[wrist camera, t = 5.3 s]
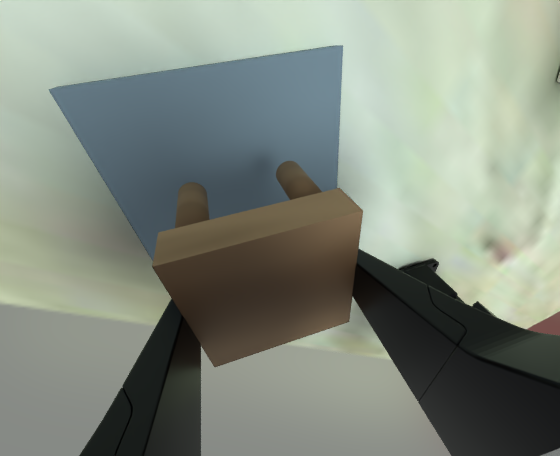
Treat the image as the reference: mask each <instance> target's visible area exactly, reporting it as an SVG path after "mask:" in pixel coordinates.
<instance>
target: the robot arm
mask: <svg viewBox="0 0 560 456" xmlns="http://www.w3.org/2000/svg"><path fill="white" fill-rule="evenodd" d="M438 265H439V262H438V261H436V260H431V261H428V262H424V263H421V264H418V265H415V266H412V267H409V268H406V269H402V270H398V269H396V268H394V267H392V266H391V265H389V264H387V263H385V262H383V261H381V260H379V259H377V258H375V257H374V256H372V255H370V254H368V253H366V252H364V251H362V250H360V249H358V255H357V263H356V267H355V276H354V284H353V292H352V296H353V297H354V299H355V301H356V302H357V304H358V306H359V307H360V309H361V310H362V312H363V314H364V315H365V317H366V318H367V320H368V322H369V323H370V325H371V327H372V328H373V330H374V331H375V333H376V335H377V336H378V338H379V339H380V341H381V343H382V344H383V346H384V348H385V349H386V351H387V352H388V354H389V356H390V357H391V359H392V360H393V362H394V364H395V365H396V367H397V368H398V370H399V372H400V373H401V375H402V377H403V378H404V380H405V381H406V383H407V385H408V386H409V388H410V389H411V391H412V392H413V394H414V396H415V397H416V399H417V401H419V404H420V406H421V407H422V409H423V411H424V412H425V414H426V415H427V417H428V419H429V420H430V422H431V424H432V425H433V427H434V428H435V430H436V432H437V433H438V435H439V437H440V438H441V440H442V441H443V443H444V445H445V446H446V448H447V449H448V451H449V452H450V454H451V456H560V336H558V335H551V334H543V333H538V332H533V331H529V330H526V329H523V328H520V327H518V326H515V325H513V324H510V323H508V322H506V321H503V320H501V319H499V318H497V317H496V316H495V315H494V314H493V313H491V312H490V311H489V310H488V309H487V308H485V307H484V306H483V305H482V304H480V303H479V302H478V301H477V302H476V303H474V304H473V306H469V305H467V304H465V303H464V302H463V301H462V300H461V299H460V298H459V297H458V296H457V293H456V292H455V291H454V290H453V289H452V288H451V287H450V286H449V285H448V284H447V283H446V282H445V281H444V280H443V279H441V278H440V277H439V276H438V275H437V274H436V273H435V272H436V269H437V267H438ZM79 456H201V344H200V342H199V340H198V339H197V337H196V336H195V334H194V332H193V331H192V329H191V328H190V326H189V324H188V323H187V321H186V319H185V318H184V317H183V316H182V314H181V312H180V311H179V309H178V307H177V306H176V304H175V303H174V301H173V299H171V301H170V302H169V304H168V306H167V308H166V309H165V311H164V313H163V315H162V317H161V318H160V320H159V322H158V324H157V325H156V327H155V329H154V331H153V332H152V334H151V336H150V338H149V340H148V341H147V343H146V345H145V347H144V348H143V350H142V352H141V354H140V355H139V357H138V359H137V361H136V363H135V364H134V366H133V368H132V370H131V371H130V373H129V375H128V377H127V379H126V380H125V382H124V384H123V388H121V389H120V391H119V392H118V394H117V396H116V398H115V399H114V401H113V403H112V405H111V406H110V408H109V410H108V411H107V413H106V415H105V417H104V418H103V420H102V421H101V423H100V425H99V426H98V428H97V429H96V431H95V433H94V434H93V436H92V437H91V439H90V440H89V442H88V443H87V445H86V446H85V448H84V449H83V451H82V452H81V454H80V455H79Z"/></svg>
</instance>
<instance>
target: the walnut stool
mask: <svg viewBox="0 0 560 456" xmlns="http://www.w3.org/2000/svg"><path fill="white" fill-rule="evenodd" d="M276 178H277V180H278V182H279V183H280V185H281V187H282V188H283V190H284V191H285V193H286V195H287V196H288V198H289V199H290V200H288V201H284V202H280V203H276V204H272V205H268V206H264V207H260V208H256V209H252V210H248V211H244V212H239V213H235V214H231V215H227V216H223V217H219V218H215V219H211V220H210V218H209V208H208V198H207V192H206V190H205V188H204V187H203V186H202V185H200V184H198V183H194V182H189V183H186V184H184V185H182V186H181V187H180V189H179V191H178V200H177V211H176V222H175V228H174V229H170V230H166V231H162V232H158V237H157V242H156V248H155V254H154V259H153V265H152V267H153V269H154V270H155V272H156V274H157V275H158V277H159V279H160V280H161V282H162V283H163V285H164V287H165V288H166V290H167V291H168V293H169V295H170V296H171V298H172V299H173V301H174V303H175V304H176V306H177V307H178V309H179V311H180V312H181V314H182V316H183V317H184V318H185V319H186V321H187V323H188V324H189V326H190V328H191V329H192V331H193V332H194V334H195V336H196V337H197V339H198V340H199V342H200V344H201V346H202V348H203V349H204V351H205V353H206V354H207V356H208V357H209V359H210V361H211V362H212V364H213V365H214V367H217V366H220V365H223V364H226V363H229V362H232V361H235V360H238V359H241V358H244V357H247V356H250V355H253V354H255V353H259V352H261V351H264V350H267V349H270V348H273V347H276V346H279V345H282V344H285V343H288V342H291V341H294V340H297V339H300V338H303V337H306V336H309V335H312V334H314V333H317V332H320V331H323V330H326V329H329V328H332V327H335V326H338V325H341V324H344V323H347V322H349V319H350V311H351V303H352V292H353V284H354V276H355V267H356V263H357V255H358V247H359V239H360V231H361V223H362V215H363V210H362V209H361V208H360V207H359V206H358V205H357V204H356V203H355V202H354V201H353V200H351V199H350V198H349V197H348V196H347V195H346V194H345V193H344V192H343V191H342V190H341V189H340V188H337V189H333V190H329V191H325V192H322V191H321V190H320V188H319V187H318V186H317V185H316V184H315V183H314V182H313V181H312V179H311V178H310V177H309V176H308V175H307V174H306V173H305V172H304V170H303V169H302V168H301V167H300V166H299V165H298V164H297V163H296V162H294V161H285V162H283V163H282V164H281V165H280V166H279V167H278V168H277V171H276Z"/></svg>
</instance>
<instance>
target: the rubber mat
mask: <svg viewBox="0 0 560 456" xmlns="http://www.w3.org/2000/svg"><path fill="white" fill-rule="evenodd" d="M342 56H343V46H329V47H322V48H316V49H309V50H302V51H295V52H289V53H282V54H275V55H268V56H262V57H255V58H248V59H242V60H235V61H228V62H221V63H215V64H208V65H201V66H194V67H188V68H181V69H174V70H168V71H161V72H154V73H147V74H141V75H134V76H127V77H120V78H114V79H107V80H100V81H94V82H87V83H80V84H73V85H67V86H60V87H55V88H52V89H49V91H50V93H51V94H52V96H53V98H54V99H55V101H56V102H57V104H58V106H59V107H60V109H61V111H62V112H63V114H64V116H65V117H66V119H67V121H68V122H69V124H70V126H71V127H72V129H73V130H74V132H75V134H76V135H77V137H78V139H79V140H80V142H81V144H82V145H83V147H84V149H85V150H86V152H87V154H88V155H89V157H90V158H91V160H92V162H93V163H94V165H95V167H96V168H97V170H98V172H99V173H100V175H101V177H102V178H103V180H104V181H105V183H106V185H107V186H108V188H109V190H110V191H111V193H112V195H113V196H114V198H115V200H116V201H117V203H118V205H119V206H120V208H121V209H122V211H123V213H124V214H125V216H126V218H127V219H128V221H129V223H130V224H131V226H132V228H133V229H134V231H135V232H136V234H137V236H138V237H139V239H140V241H141V242H142V244H143V246H144V247H145V249H146V251H147V252H148V254H149V256H150V257H151V259H152V260H153V259H154V254H155V248H156V242H157V237H158V232H162V231H166V230H170V229H174V228H175V222H176V211H177V200H178V191H179V189H180V187H181V186H182V185H184V184H186V183H189V182H194V183H198V184H200V185H202V186H203V187H204V188H205V190H206V192H207V198H208V208H209V218H210V220H211V219H215V218H219V217H223V216H227V215H231V214H235V213H239V212H244V211H248V210H252V209H256V208H260V207H264V206H268V205H272V204H276V203H280V202H284V201H288V200H290V199H289V198H288V196H287V195H286V193H285V191H284V190H283V188H282V187H281V185H280V183H279V182H278V180H277V178H276V171H277V168H278V167H279V166H280V165H281V164H282V163H283V162H285V161H294V162H296V163H297V164H298V165H299V166H300V167H301V168H302V169H303V170H304V172H305V173H306V174H307V175H308V176H309V177H310V178H311V179H312V181H313V182H314V183H315V184H316V185H317V186H318V187H319V188H320V190H321V191H322V192H325V191H329V190H333V189H337V172H338V148H339V125H340V102H341V79H342Z"/></svg>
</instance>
